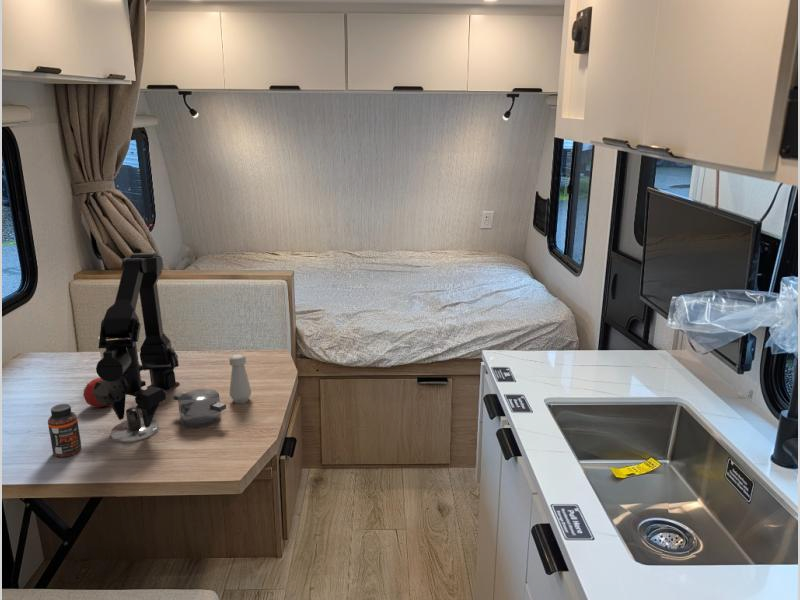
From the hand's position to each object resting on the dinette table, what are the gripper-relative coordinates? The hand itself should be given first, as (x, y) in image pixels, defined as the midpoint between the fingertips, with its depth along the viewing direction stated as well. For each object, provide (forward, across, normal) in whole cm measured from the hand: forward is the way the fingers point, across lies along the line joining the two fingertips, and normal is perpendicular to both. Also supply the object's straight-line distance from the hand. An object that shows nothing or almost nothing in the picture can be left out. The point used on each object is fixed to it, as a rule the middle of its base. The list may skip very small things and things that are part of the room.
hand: (134, 423), depth 153 cm
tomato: (+2, -20, +6) cm, 21 cm away
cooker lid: (+2, 0, 0) cm, 2 cm away
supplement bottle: (+2, -6, -14) cm, 15 cm away
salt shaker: (+2, +12, +25) cm, 28 cm away
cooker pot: (+2, +10, +12) cm, 16 cm away
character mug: (+2, -32, +21) cm, 38 cm away
